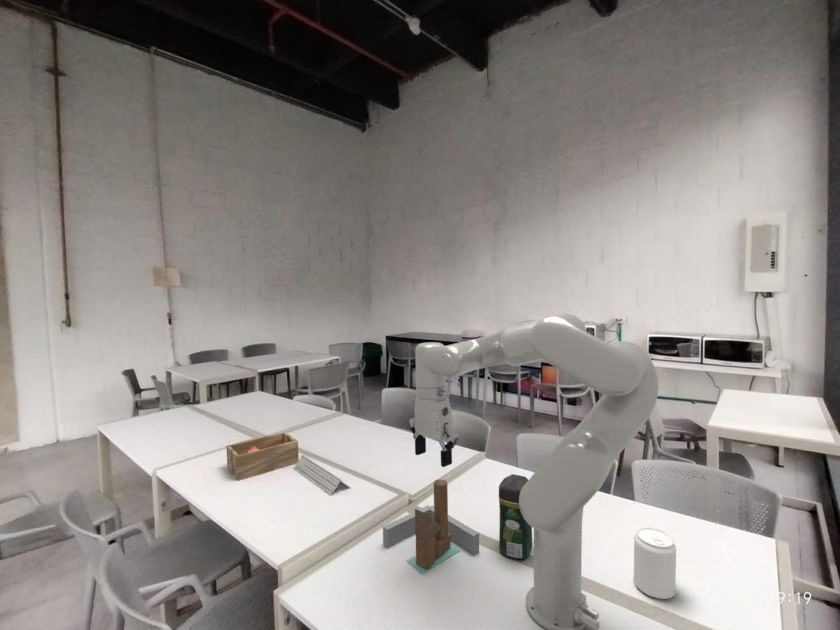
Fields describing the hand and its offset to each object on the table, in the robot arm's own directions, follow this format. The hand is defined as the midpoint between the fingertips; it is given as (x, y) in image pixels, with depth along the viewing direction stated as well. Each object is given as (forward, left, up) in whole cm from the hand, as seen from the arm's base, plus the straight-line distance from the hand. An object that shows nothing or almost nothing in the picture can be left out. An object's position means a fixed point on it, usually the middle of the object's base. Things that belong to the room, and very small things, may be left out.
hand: (433, 459), depth 101 cm
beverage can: (-41, -30, -26) cm, 57 cm away
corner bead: (+60, +2, -26) cm, 66 cm away
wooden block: (0, 0, -26) cm, 26 cm away
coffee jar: (-12, -18, -26) cm, 34 cm away
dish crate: (+85, +14, -26) cm, 90 cm away
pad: (0, 0, -26) cm, 26 cm away
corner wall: (+3, -1, -25) cm, 26 cm away
